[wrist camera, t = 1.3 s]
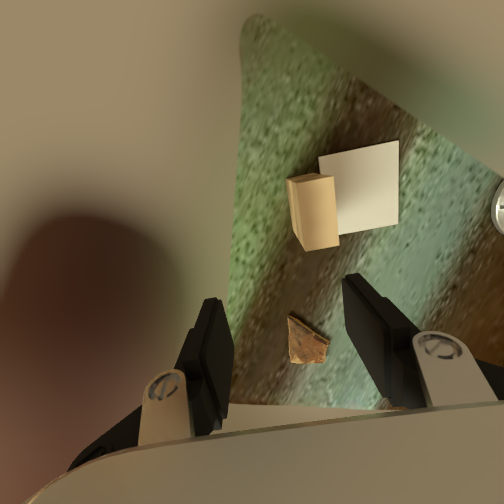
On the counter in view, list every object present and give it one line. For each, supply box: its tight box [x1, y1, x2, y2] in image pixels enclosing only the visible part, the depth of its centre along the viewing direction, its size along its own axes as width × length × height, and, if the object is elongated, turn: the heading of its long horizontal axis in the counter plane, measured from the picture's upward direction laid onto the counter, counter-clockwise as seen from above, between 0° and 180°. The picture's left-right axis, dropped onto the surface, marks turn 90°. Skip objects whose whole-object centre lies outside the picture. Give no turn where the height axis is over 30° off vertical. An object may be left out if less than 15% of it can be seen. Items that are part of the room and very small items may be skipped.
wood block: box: [286, 173, 339, 251], centre depth 32 cm, size 4×8×10 cm, turn 11°
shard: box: [288, 315, 330, 364], centre depth 45 cm, size 11×8×2 cm
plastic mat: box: [318, 140, 399, 235], centre depth 36 cm, size 11×12×1 cm
